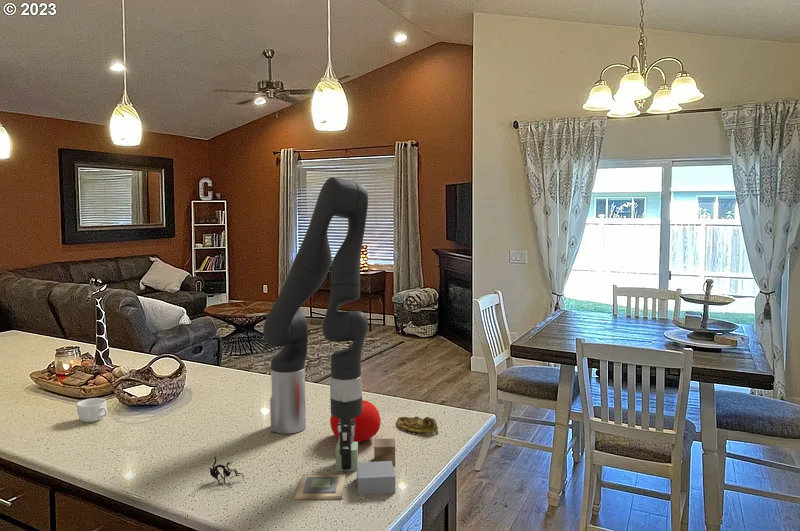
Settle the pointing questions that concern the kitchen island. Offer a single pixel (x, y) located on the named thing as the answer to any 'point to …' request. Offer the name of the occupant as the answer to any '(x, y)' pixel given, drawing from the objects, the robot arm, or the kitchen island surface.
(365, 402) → the tomato
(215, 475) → the creature
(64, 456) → the kitchen island surface
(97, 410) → the teacup
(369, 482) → the grey base block
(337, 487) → the tile
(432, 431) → the stuffed eggplant half
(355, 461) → the sage block
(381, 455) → the walnut block
